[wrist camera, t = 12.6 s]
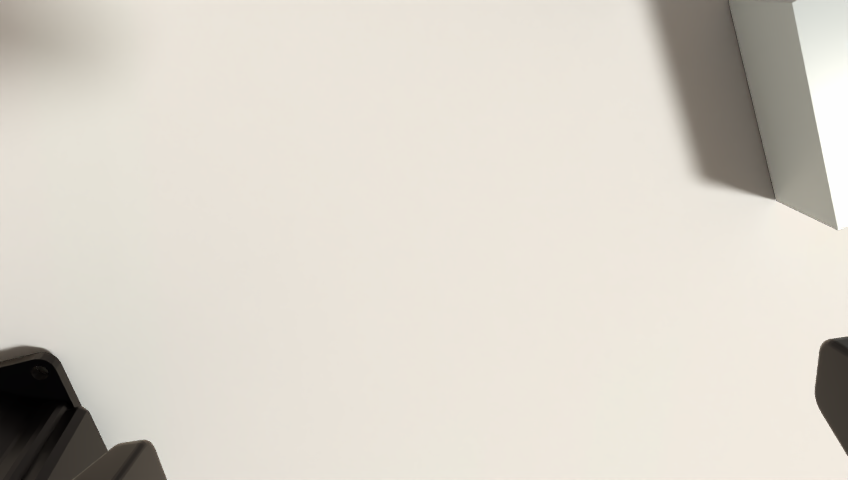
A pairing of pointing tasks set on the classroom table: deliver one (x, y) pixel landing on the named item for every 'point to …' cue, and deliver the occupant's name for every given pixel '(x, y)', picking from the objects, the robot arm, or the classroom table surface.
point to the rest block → (800, 98)
